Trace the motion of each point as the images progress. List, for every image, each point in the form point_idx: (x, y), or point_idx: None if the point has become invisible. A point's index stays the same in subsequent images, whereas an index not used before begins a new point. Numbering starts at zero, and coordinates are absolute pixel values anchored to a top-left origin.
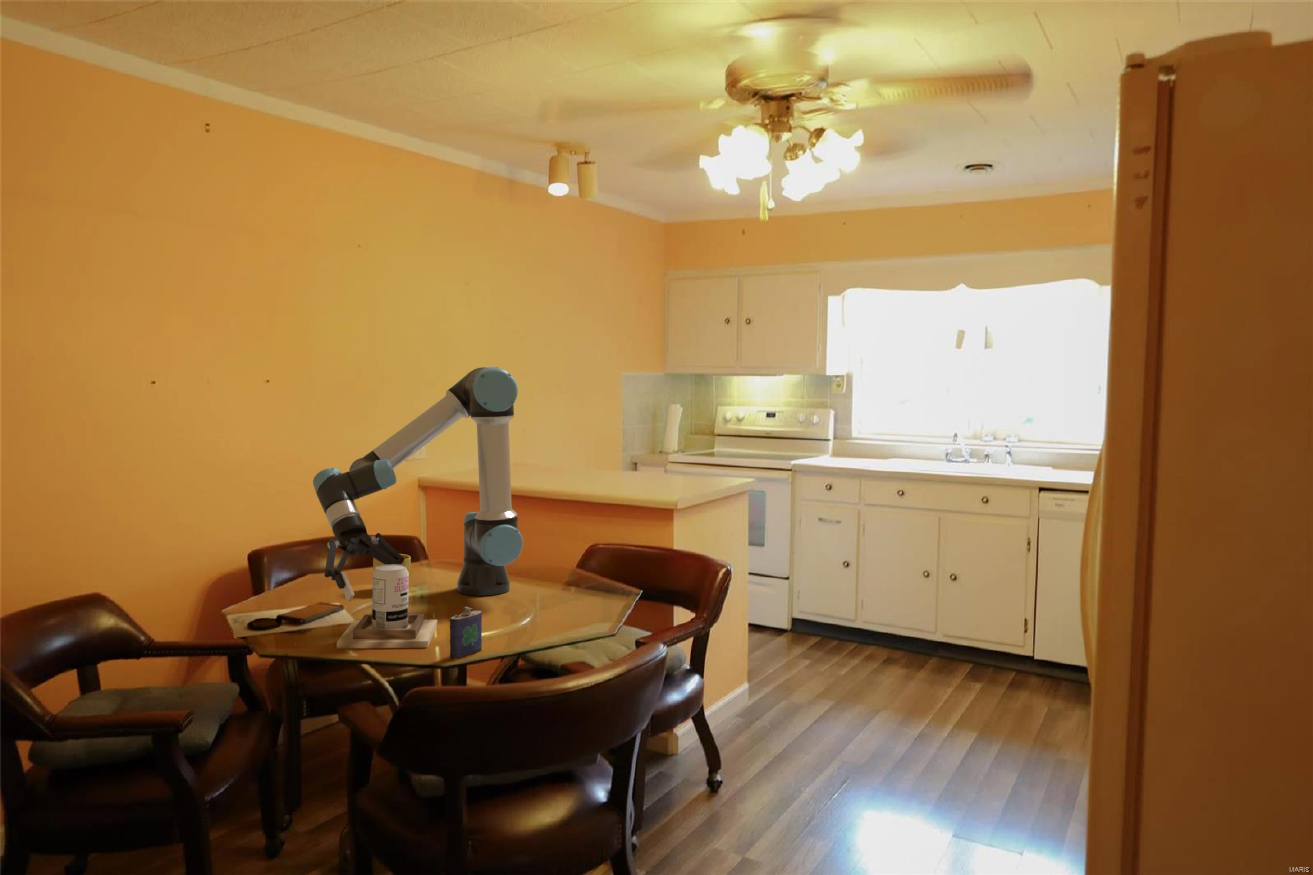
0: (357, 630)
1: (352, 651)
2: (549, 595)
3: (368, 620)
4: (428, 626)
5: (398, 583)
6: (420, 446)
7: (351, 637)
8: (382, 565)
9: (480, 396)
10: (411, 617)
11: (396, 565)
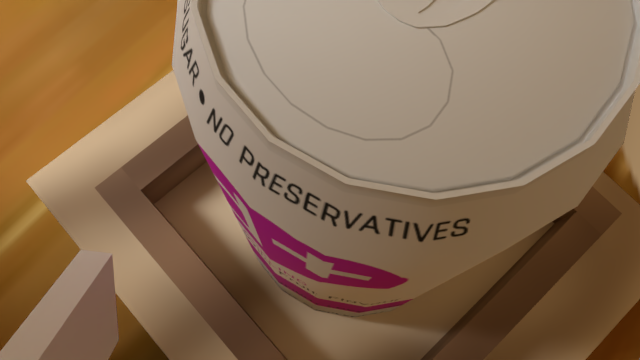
0: (600, 195)
1: (623, 160)
2: None
3: None
4: (166, 110)
5: None
6: None
7: (585, 258)
8: (420, 191)
9: None
10: (169, 223)
11: (237, 65)
